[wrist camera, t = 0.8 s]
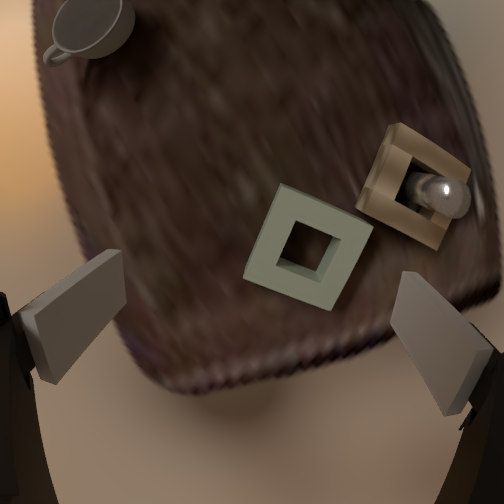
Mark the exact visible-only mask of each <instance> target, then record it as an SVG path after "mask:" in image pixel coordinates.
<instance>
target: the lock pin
mask: <svg viewBox="0 0 504 504" xmlns="http://www.w3.org/2000/svg"><path fill="white" fill-rule="evenodd" d="M398 193H399V195H400V196H401V197H402V198H403V199H405V200H408V201H410V202H413V203H416V204H418V205H421V206H423V207H426V208H428V209H431V210H433V211H436V212H438V213H440V214H443V215H445V216H447V217H450V218H453V219H458V218H461V217H462V216H464V215H465V214H466V212H467V211H468V209H469V206H470V202H471V195H470V191H469V188H468V186H467V185H466V184H465V183H464V182H463V181H461V180H458V179H453V178H448V177H443V176H437V175H432V174H426V173H420V172H414V171H406V174H405V176H404V179H403V181H402V183H401V186H400V188H399V190H398Z"/></svg>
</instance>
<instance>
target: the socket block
mask: <svg viewBox="0 0 504 504" xmlns="http://www.w3.org/2000/svg"><path fill="white" fill-rule="evenodd" d="M296 220H297V221H299V222H301V223H304V224H306V225H308V226H311V227H313V228H316V229H318V230H320V231H322V232H325V233H327V234H329V235H332V236H333V238H332V240H331V242H330V244H329V246H328V248H327V250H326V252H325V254H324V256H323V258H322V261H321V263H320V265H319V267H318V269H317V271H316V272H315V271H313V270H310V269H308V268H305V267H303V266H300V265H298V264H295V263H293V262H290V261H288V260H285V259H283V258H280V255H281V252H282V250H283V248H284V246H285V243H286V241H287V239H288V237H289V234H290V232H291V230H292V228H293V225H294V223H295V221H296ZM372 230H373V226H372V225H370V224H369V223H367V222H366V221H365V220H363V219H361V218H359V217H357V216H354V215H352V214H350V213H348V212H346V211H344V210H342V209H339V208H337V207H335V206H333V205H331V204H328V203H326V202H324V201H322V200H319V199H317V198H315V197H313V196H310V195H308V194H306V193H303V192H301V191H299V190H296V189H294V188H292V187H289V186H287V185H284V184H282V183H280V186H279V188H278V190H277V193H276V195H275V198H274V200H273V202H272V205H271V207H270V209H269V212H268V214H267V217H266V219H265V221H264V224H263V226H262V229H261V231H260V233H259V236H258V238H257V240H256V243H255V245H254V248H253V250H252V252H251V255H250V257H249V260H248V262H247V264H246V267H245V271H244V276H243V278H244V279H246V280H249V281H251V282H254V283H257V284H259V285H262V286H264V287H267V288H270V289H272V290H275V291H277V292H280V293H283V294H285V295H288V296H291V297H293V298H296V299H298V300H301V301H304V302H306V303H309V304H312V305H314V306H317V307H320V308H323V309H325V310H328V311H331V309H332V308H333V306H334V304H335V302H336V300H337V298H338V297H339V295H340V293H341V291H342V289H343V287H344V285H345V284H346V282H347V280H348V278H349V276H350V274H351V272H352V270H353V268H354V266H355V264H356V262H357V260H358V258H359V256H360V254H361V252H362V250H363V248H364V246H365V244H366V242H367V240H368V238H369V236H370V234H371V232H372Z"/></svg>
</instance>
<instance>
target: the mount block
mask: <svg viewBox="0 0 504 504" xmlns="http://www.w3.org/2000/svg"><path fill="white" fill-rule="evenodd" d="M410 162H412V163H413V164H415V165H417V166H418V167H420V168H422V169H423V170H425V171H427V172H428V173H430V174H432V175H437V176H443V177H448V178H453V179H458V180H461V181H463V182H464V183H465V184H466V183H467V180H468V177H469V174H470V172H471V169H470V168H468V167H467V166H466V165H464V164H463V163H462V162H460V161H459V160H457V159H456V158H455V157H453V156H452V155H450V154H449V153H448V152H446V151H445V150H443V149H442V148H440V147H439V146H437V145H436V144H434V143H433V142H431V141H430V140H428V139H427V138H425V137H423V136H422V135H420V134H419V133H417V132H415V131H414V130H412V129H411V128H409V127H407V126H406V125H404V124H402V123H397V124H392V125H389V126H388V129H387V131H386V134H385V136H384V139H383V141H382V144H381V146H380V149H379V151H378V154H377V156H376V159H375V161H374V163H373V166H372V168H371V171H370V173H369V175H368V178H367V180H366V182H365V185H364V187H363V189H362V191H361V194H360V196H359V198H358V201H357V203H356V205H355V208H357V209H358V210H360V211H361V212H363V213H365V214H367V215H369V216H371V217H373V218H375V219H377V220H379V221H381V222H383V223H385V224H387V225H389V226H391V227H393V228H395V229H397V230H399V231H401V232H403V233H405V234H407V235H408V236H410V237H412V238H414V239H416V240H418V241H420V242H422V243H424V244H425V245H427V246H429V247H431V248H433V249H435V250H436V251H437V250H438V248H439V246H440V244H441V241H442V239H443V237H444V235H445V233H446V231H447V228H448V226H449V224H450V222H451V219H452V218H450V217H447V216H445V215H443V214H440V213H438V212H436V211H433V210H431V209H428V208H426V207H423V206H421V208H420V210H419V213H416V212H414V211H412V210H411V209H409V208H407V207H405V206H403V205H401V204H400V203H398V202H396V201H394V200H395V197H396V195H397V193H398V190H399V188H400V186H401V183H402V181H403V179H404V176H405V174H406V171H407V169H408V166H409V164H410Z"/></svg>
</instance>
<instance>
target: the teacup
mask: <svg viewBox="0 0 504 504" xmlns="http://www.w3.org/2000/svg"><path fill="white" fill-rule="evenodd" d="M134 25H135V11H134V8H133V6H132V4H131V3H130V1H129V0H67V1H66V2H65V3H64V4H63V5H62V7H61V8H60V9H59V11H58V13H57V15H56V17H55V20H54V23H53V28H52V35H53V40H54V43H55V44H54V45H53V46H51V47H50V48H49V49H47V51H46V52H45V53H44V56H43V61H44V63H45V64H46V65H47V66H49V67H55V66H58V65H60V64H62V63H64V62H66V61H68V60H69V59H71V58H72V57H75V56H79V57H83V58H88V59H97V58H101V57H105V56H107V55H109V54H111V53H113V52H115V51H116V50H117V49H119V48H120V47H121V46H122V45H123V44H124V43H125V42H126V41H127V39H128V38H129V36H130V35H131V33H132V30H133V28H134ZM60 51H63V52H65V53H64V54H62V55H60V56H58V57H56V58H53V59H51V57H52V56H53V55H54V54H56V53H57V52H60Z"/></svg>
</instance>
